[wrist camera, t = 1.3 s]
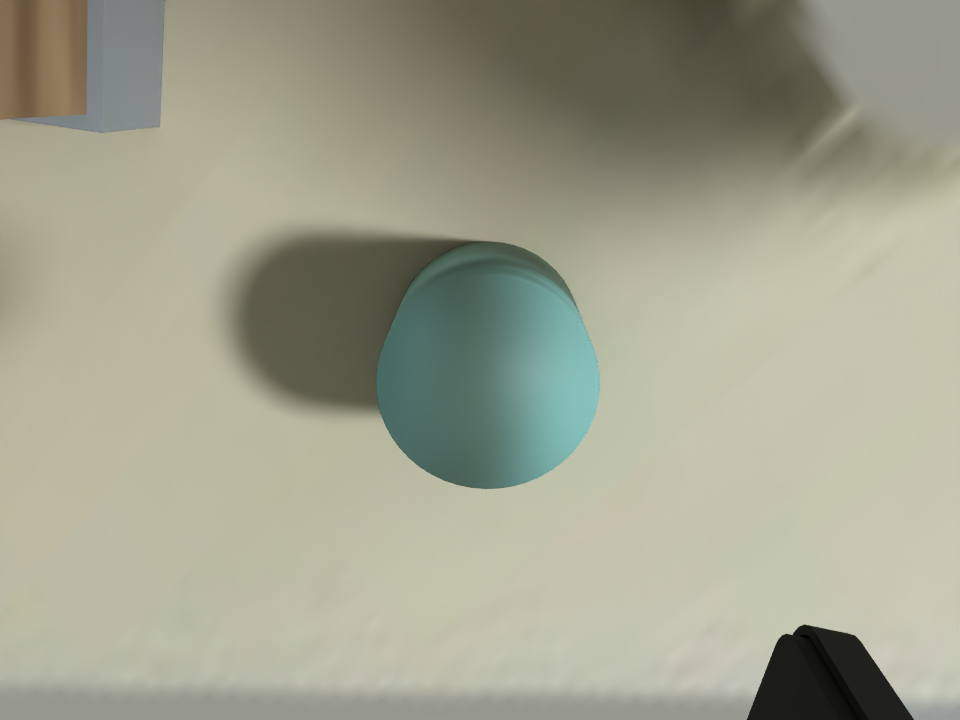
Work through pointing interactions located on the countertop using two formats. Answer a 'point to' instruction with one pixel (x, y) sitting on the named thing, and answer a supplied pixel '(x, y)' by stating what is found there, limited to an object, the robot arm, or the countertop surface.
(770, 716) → the robot arm
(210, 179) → the countertop surface
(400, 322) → the teal cylinder
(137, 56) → the slate base block
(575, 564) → the countertop surface
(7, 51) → the walnut block
